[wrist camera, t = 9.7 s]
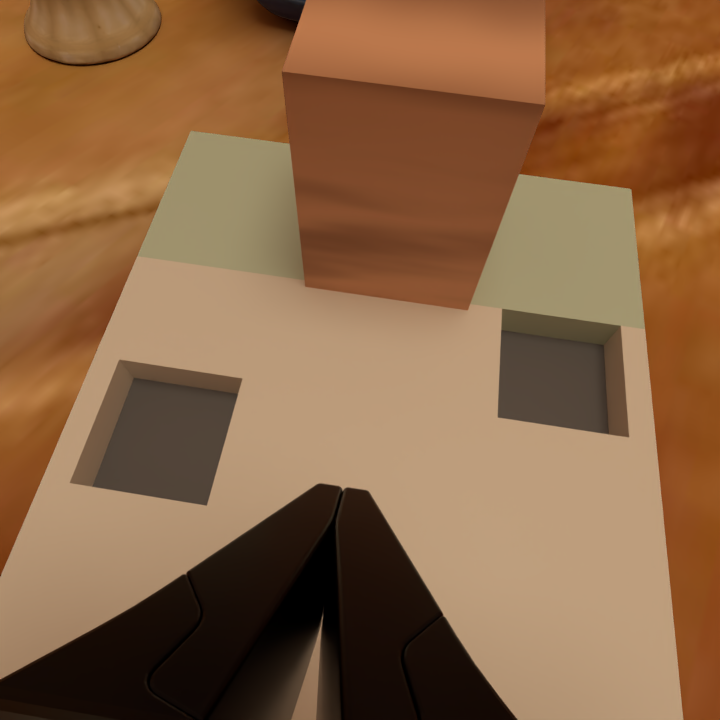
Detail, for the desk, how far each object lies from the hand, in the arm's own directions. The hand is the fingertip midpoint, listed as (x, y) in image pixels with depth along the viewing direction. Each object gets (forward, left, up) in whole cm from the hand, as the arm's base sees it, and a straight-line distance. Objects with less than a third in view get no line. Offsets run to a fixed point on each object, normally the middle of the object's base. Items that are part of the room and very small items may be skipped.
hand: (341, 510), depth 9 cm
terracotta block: (+12, +9, -10) cm, 18 cm away
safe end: (+12, +10, -12) cm, 20 cm away
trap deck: (+2, +2, -12) cm, 13 cm away
